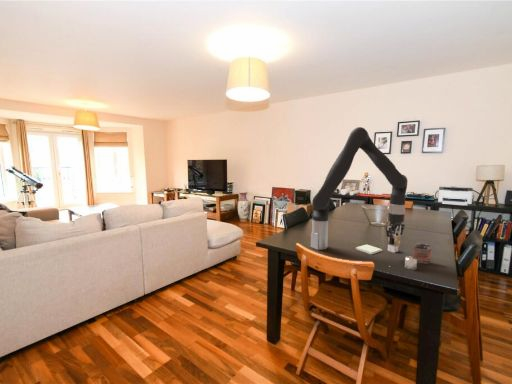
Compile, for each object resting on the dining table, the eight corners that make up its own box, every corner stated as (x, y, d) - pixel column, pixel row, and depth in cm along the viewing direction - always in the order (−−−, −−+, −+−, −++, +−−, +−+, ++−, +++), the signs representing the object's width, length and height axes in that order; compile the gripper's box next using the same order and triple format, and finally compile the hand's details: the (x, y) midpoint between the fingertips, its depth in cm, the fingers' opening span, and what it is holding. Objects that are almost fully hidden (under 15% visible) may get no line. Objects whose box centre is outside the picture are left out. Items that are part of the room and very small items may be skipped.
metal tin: (413, 270, 121) (413, 260, 120) (402, 267, 125) (403, 257, 125) (418, 268, 124) (419, 258, 123) (408, 264, 128) (408, 255, 127)
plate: (371, 254, 142) (371, 252, 142) (356, 249, 150) (356, 247, 150) (381, 251, 147) (381, 249, 147) (366, 246, 155) (366, 244, 155)
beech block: (395, 246, 132) (396, 237, 131) (388, 244, 136) (388, 235, 135) (399, 245, 134) (400, 236, 133) (392, 243, 138) (393, 234, 137)
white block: (394, 252, 145) (394, 246, 144) (387, 250, 148) (387, 244, 148) (398, 251, 147) (398, 244, 146) (391, 249, 150) (391, 242, 150)
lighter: (412, 262, 131) (414, 243, 130) (411, 259, 134) (412, 241, 133) (431, 264, 128) (432, 245, 127) (429, 261, 132) (430, 243, 130)
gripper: (397, 209, 139) (394, 239, 142) (381, 212, 132) (379, 243, 134) (411, 212, 133) (408, 243, 135) (395, 215, 126) (392, 248, 128)
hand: (393, 243), depth 135 cm, fingers closed on beech block, 4 cm apart
